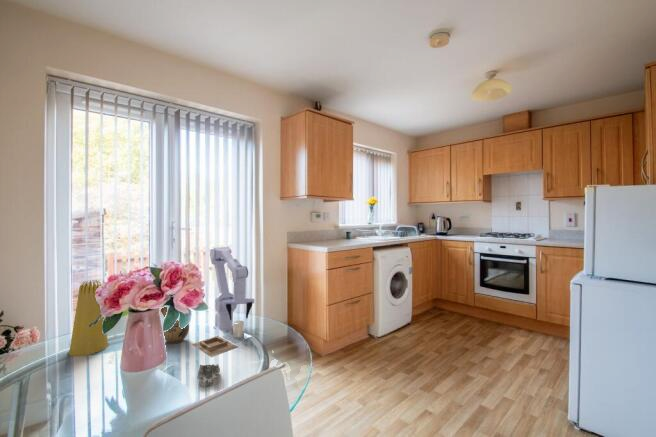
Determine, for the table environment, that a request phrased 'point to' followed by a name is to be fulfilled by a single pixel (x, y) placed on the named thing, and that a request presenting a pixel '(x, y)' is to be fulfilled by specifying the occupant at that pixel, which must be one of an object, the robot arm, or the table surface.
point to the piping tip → (87, 323)
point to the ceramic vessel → (175, 331)
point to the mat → (230, 338)
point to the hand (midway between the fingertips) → (238, 318)
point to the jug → (238, 329)
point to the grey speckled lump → (208, 375)
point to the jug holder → (214, 346)
